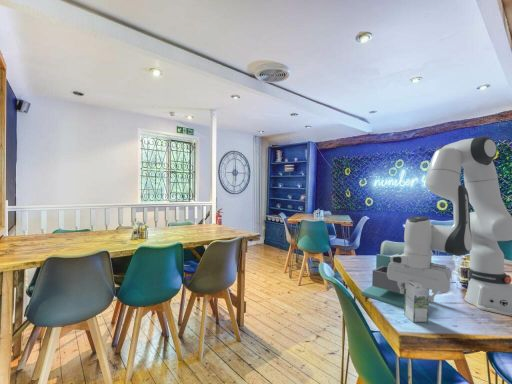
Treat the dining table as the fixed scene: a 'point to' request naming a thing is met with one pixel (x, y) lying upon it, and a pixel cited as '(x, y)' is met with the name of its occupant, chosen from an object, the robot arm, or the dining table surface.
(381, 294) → the cup bracket
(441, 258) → the dining table surface
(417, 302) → the syrup box
